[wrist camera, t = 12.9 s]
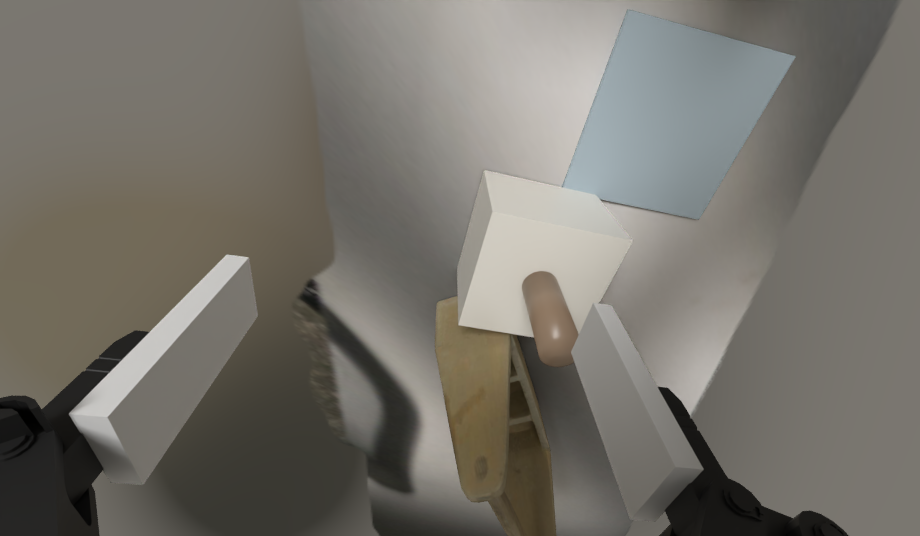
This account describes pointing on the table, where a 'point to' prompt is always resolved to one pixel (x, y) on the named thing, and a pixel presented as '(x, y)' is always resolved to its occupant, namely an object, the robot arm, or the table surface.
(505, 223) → the cover box
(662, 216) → the table surface
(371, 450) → the table surface
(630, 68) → the mat
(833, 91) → the table surface
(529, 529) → the caddy
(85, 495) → the robot arm
